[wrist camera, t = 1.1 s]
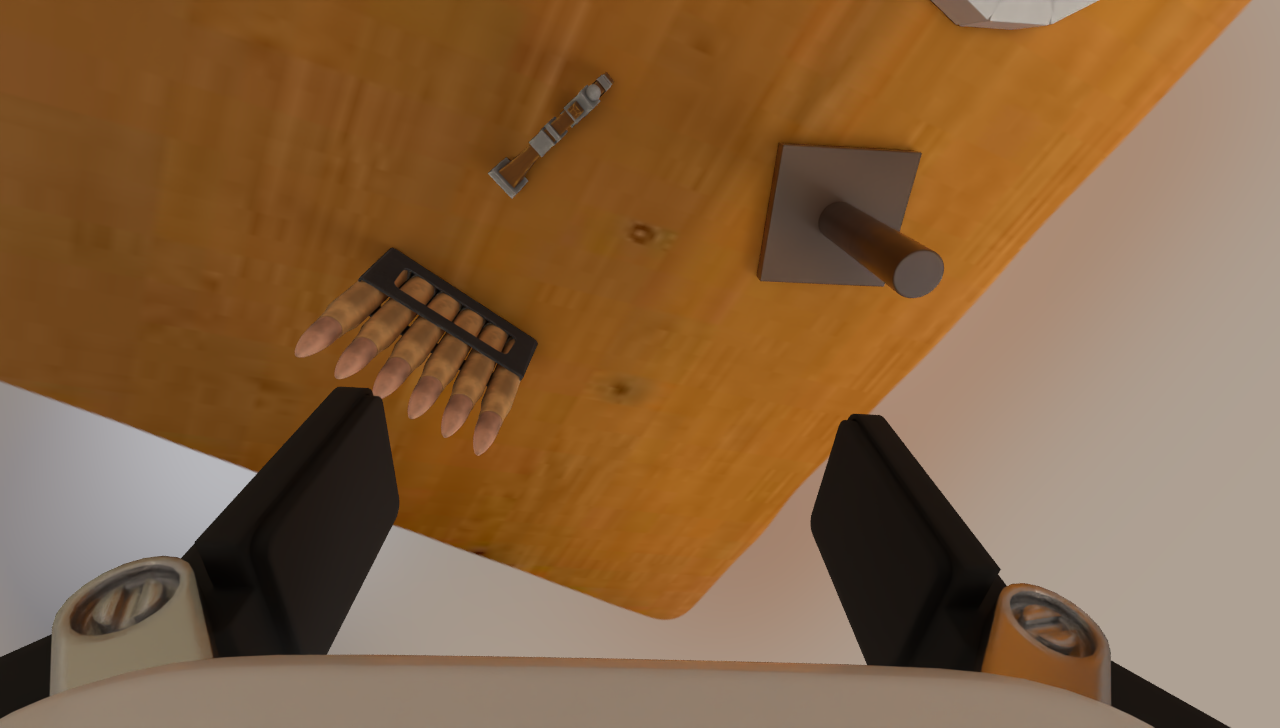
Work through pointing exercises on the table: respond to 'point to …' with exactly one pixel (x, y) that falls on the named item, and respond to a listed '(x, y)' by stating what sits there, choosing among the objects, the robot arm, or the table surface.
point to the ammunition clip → (427, 343)
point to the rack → (844, 220)
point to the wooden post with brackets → (548, 137)
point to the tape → (1009, 12)
